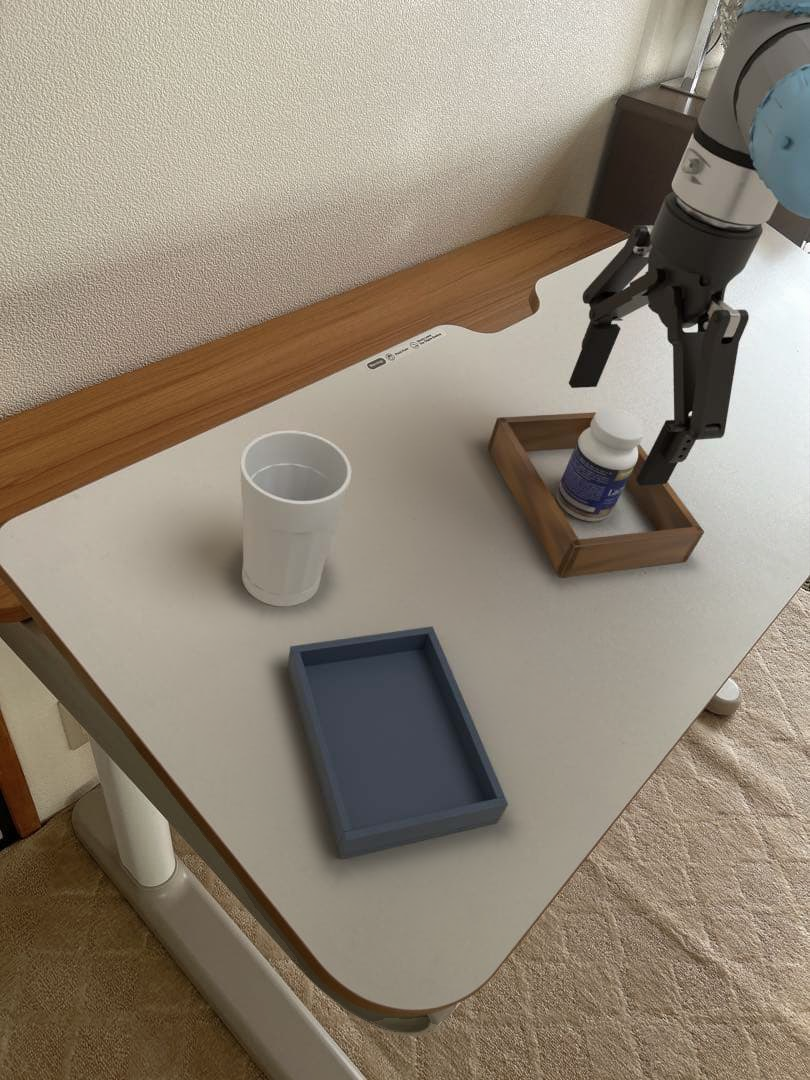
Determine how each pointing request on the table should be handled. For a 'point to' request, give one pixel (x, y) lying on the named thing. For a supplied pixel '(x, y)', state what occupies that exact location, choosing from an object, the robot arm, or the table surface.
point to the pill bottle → (600, 465)
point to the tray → (392, 740)
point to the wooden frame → (551, 525)
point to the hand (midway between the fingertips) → (614, 431)
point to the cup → (289, 513)
